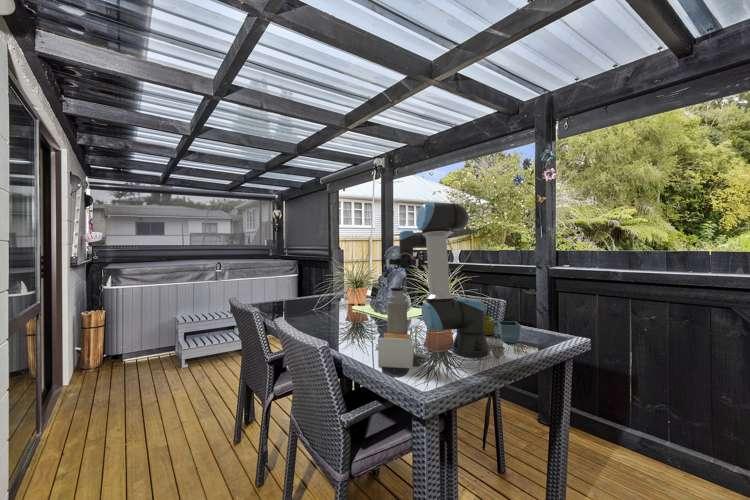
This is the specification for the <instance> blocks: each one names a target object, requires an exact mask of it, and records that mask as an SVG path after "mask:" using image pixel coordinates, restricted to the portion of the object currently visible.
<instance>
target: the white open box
mask: <svg viewBox="0 0 750 500" xmlns="http://www.w3.org/2000/svg"><path fill="white" fill-rule="evenodd" d="M377 350H378V352H377V355H378V356H377V359H378V360H377V362H378V363H377V365H378V366H379V368H380V367H381V368H393V369H394V368H397V369H413V367H414V361H415V359H414V358H415V339H413V338H409V339H398V338H384V337H378V338H377ZM378 366H377V367H378Z"/></svg>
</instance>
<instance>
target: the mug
mask: <svg viewBox="0 0 750 500" xmlns="http://www.w3.org/2000/svg"><path fill="white" fill-rule="evenodd" d="M494 334H495V322H494V318H493V317H491V316H485V335H486V336H487V335H491V336H493V335H494Z"/></svg>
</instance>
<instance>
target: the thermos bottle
mask: <svg viewBox="0 0 750 500" xmlns="http://www.w3.org/2000/svg"><path fill="white" fill-rule="evenodd" d="M390 291H391V292H390V295H389V296H388V301H387V304H386V305H387V314H386V315H387V317H386V319H387V326H386V328H387V331H386V332H387V334H408V332H407V331H408V302H407V300H406V299H407V298H406V296H405V295H404V288H403V287H392V288H390Z"/></svg>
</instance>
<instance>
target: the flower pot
mask: <svg viewBox="0 0 750 500" xmlns="http://www.w3.org/2000/svg"><path fill="white" fill-rule="evenodd" d="M497 329H498V334H499V336H500V337H499V338H500V339H501V341H502V342H503V341H504V342H505V343H504V344H516V343H517V342H518V341H519V338H520V333H521V324H520V323H518V322H517V321H511V320H510V321H509V320H504V321H503V320H498V321H497ZM506 342H507V343H506ZM508 342H509V343H508Z"/></svg>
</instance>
